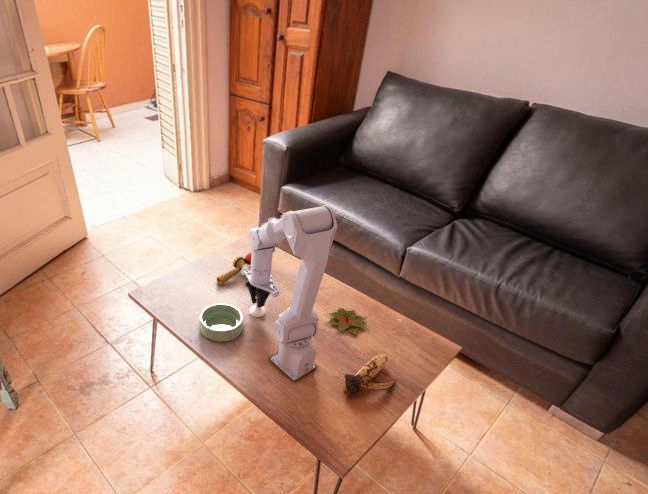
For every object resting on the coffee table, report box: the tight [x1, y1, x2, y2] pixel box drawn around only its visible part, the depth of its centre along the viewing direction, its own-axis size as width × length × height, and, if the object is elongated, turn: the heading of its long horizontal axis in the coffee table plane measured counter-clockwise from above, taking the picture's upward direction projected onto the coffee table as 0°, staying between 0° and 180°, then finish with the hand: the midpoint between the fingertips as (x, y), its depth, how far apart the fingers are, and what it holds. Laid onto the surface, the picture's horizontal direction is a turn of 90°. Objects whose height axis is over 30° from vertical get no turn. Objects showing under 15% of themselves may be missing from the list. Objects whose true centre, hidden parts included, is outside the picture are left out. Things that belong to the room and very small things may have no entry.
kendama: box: [216, 252, 252, 286], centre depth 144 cm, size 8×6×18 cm
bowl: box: [199, 302, 244, 342], centre depth 124 cm, size 12×12×4 cm
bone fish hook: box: [343, 353, 395, 398], centre depth 109 cm, size 9×5×18 cm
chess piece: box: [249, 287, 267, 318], centre depth 127 cm, size 5×5×10 cm
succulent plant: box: [327, 306, 367, 336], centre depth 127 cm, size 12×12×5 cm
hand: (258, 304), depth 128 cm, fingers closed on chess piece
